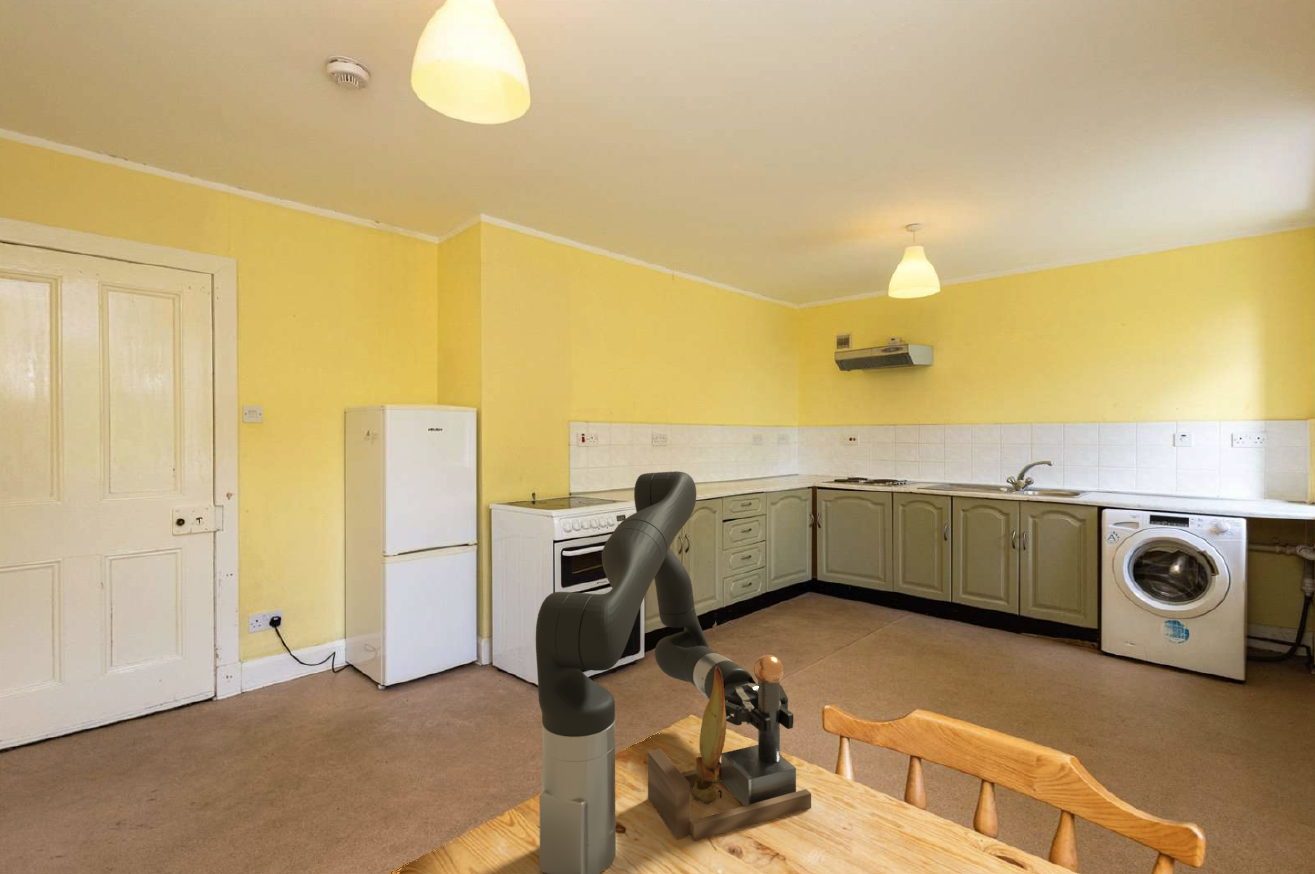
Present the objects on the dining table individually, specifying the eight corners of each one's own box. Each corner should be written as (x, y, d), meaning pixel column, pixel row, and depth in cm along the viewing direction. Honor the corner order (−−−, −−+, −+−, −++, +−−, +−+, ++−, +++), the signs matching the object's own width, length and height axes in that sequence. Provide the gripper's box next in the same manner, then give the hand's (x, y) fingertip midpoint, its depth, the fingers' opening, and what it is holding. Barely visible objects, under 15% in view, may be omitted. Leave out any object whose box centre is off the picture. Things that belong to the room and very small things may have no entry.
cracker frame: (680, 845, 81) (680, 791, 81) (644, 794, 92) (644, 747, 92) (811, 807, 89) (811, 758, 89) (763, 765, 100) (763, 722, 100)
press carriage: (748, 811, 87) (748, 670, 87) (721, 782, 95) (720, 652, 95) (797, 797, 90) (796, 662, 90) (766, 770, 98) (766, 645, 98)
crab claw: (728, 821, 86) (727, 676, 86) (691, 819, 86) (690, 676, 86) (725, 792, 93) (725, 658, 93) (691, 791, 93) (690, 658, 93)
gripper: (685, 666, 104) (738, 707, 88) (757, 654, 109) (819, 691, 93) (685, 711, 104) (738, 760, 88) (758, 696, 109) (819, 741, 93)
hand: (779, 724), depth 91 cm, fingers closed on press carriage, 3 cm apart
